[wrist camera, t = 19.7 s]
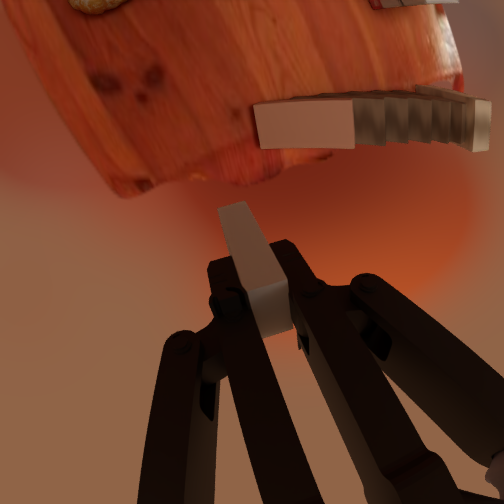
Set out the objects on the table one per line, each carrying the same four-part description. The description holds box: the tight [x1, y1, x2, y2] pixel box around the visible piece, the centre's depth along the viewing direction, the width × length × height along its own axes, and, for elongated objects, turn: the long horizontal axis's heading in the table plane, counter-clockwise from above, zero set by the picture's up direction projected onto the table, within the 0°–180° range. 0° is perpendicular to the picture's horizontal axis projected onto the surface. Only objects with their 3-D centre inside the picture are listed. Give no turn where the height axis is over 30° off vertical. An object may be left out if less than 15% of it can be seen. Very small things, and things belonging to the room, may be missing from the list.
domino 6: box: [393, 90, 466, 144], centre depth 34 cm, size 6×2×12 cm, turn 11°
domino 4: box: [347, 91, 432, 144], centre depth 33 cm, size 6×2×12 cm
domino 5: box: [371, 90, 451, 144], centre depth 33 cm, size 6×2×12 cm
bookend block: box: [416, 85, 491, 152], centre depth 34 cm, size 8×5×13 cm, turn 11°
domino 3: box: [318, 93, 408, 144], centre depth 33 cm, size 6×2×12 cm
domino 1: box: [253, 98, 355, 149], centre depth 33 cm, size 6×2×12 cm
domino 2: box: [290, 96, 386, 146], centre depth 33 cm, size 6×2×12 cm
